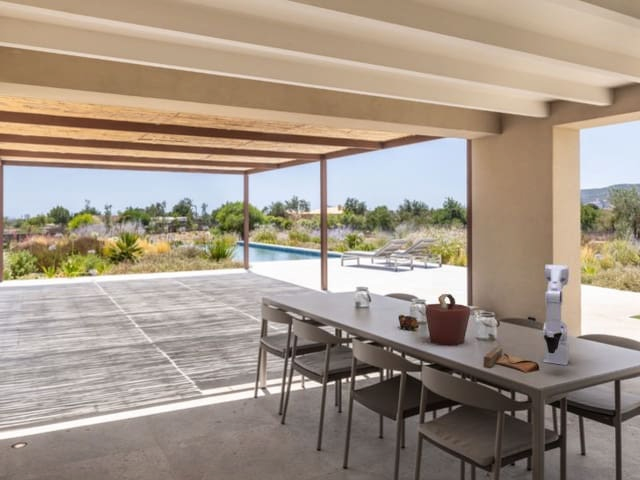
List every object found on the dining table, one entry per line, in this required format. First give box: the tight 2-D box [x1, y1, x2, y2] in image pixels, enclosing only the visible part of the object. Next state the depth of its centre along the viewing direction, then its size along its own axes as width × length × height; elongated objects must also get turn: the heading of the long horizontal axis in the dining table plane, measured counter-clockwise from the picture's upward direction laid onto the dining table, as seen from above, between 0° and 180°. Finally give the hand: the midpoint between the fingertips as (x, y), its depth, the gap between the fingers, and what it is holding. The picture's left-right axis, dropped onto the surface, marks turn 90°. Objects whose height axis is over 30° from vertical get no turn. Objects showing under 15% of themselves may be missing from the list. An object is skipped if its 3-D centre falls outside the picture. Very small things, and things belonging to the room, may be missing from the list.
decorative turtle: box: [398, 314, 420, 331], centre depth 302 cm, size 10×15×8 cm, turn 41°
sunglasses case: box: [495, 353, 540, 374], centre depth 223 cm, size 18×7×7 cm
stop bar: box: [483, 346, 503, 369], centre depth 230 cm, size 3×20×4 cm, turn 148°
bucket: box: [425, 293, 471, 347], centre depth 269 cm, size 24×22×25 cm
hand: (553, 351), depth 217 cm, fingers open, 7 cm apart
